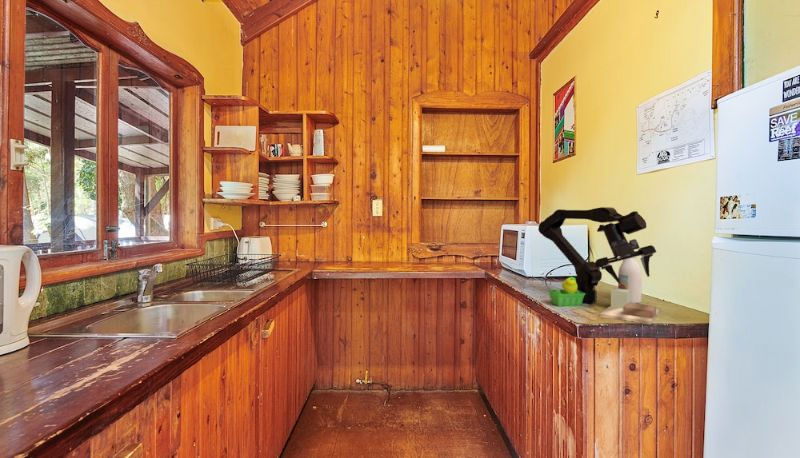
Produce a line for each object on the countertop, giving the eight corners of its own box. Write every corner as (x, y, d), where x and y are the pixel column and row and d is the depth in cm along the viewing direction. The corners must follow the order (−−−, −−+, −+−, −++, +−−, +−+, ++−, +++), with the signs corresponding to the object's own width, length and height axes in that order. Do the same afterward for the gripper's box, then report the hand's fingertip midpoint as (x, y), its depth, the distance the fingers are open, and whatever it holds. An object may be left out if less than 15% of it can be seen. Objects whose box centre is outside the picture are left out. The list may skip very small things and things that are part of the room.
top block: (610, 306, 128) (610, 290, 127) (614, 304, 131) (614, 288, 131) (626, 309, 124) (626, 292, 124) (629, 306, 128) (629, 289, 128)
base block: (623, 314, 118) (623, 306, 118) (628, 309, 123) (628, 302, 123) (652, 318, 112) (652, 310, 112) (656, 313, 118) (656, 306, 118)
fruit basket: (575, 301, 140) (575, 273, 140) (588, 307, 132) (588, 277, 131) (547, 302, 140) (547, 274, 139) (558, 308, 131) (558, 278, 131)
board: (599, 316, 119) (599, 313, 119) (615, 304, 135) (615, 301, 135) (650, 324, 109) (650, 321, 109) (660, 310, 125) (660, 307, 125)
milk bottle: (639, 300, 141) (639, 250, 141) (643, 304, 134) (643, 252, 134) (616, 298, 144) (616, 250, 144) (619, 302, 137) (619, 251, 137)
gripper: (590, 243, 125) (607, 285, 121) (649, 226, 119) (670, 271, 114) (588, 247, 135) (604, 287, 131) (643, 232, 129) (661, 273, 124)
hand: (633, 280), depth 125 cm, fingers open, 9 cm apart
